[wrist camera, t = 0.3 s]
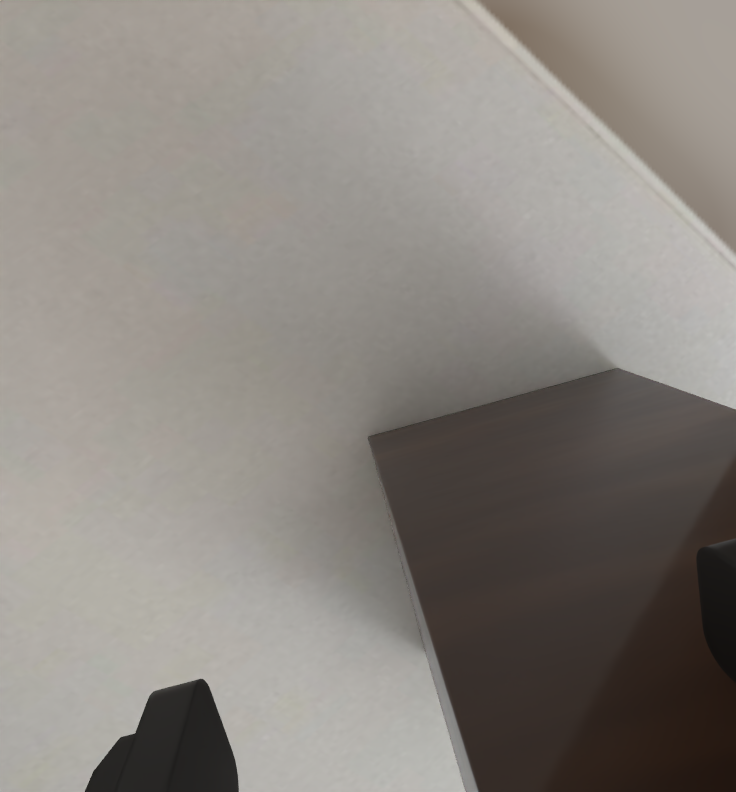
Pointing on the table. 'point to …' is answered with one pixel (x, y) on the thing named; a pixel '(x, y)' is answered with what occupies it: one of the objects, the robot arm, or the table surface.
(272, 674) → the table surface
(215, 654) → the table surface
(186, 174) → the table surface
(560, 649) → the brown rectangular block
